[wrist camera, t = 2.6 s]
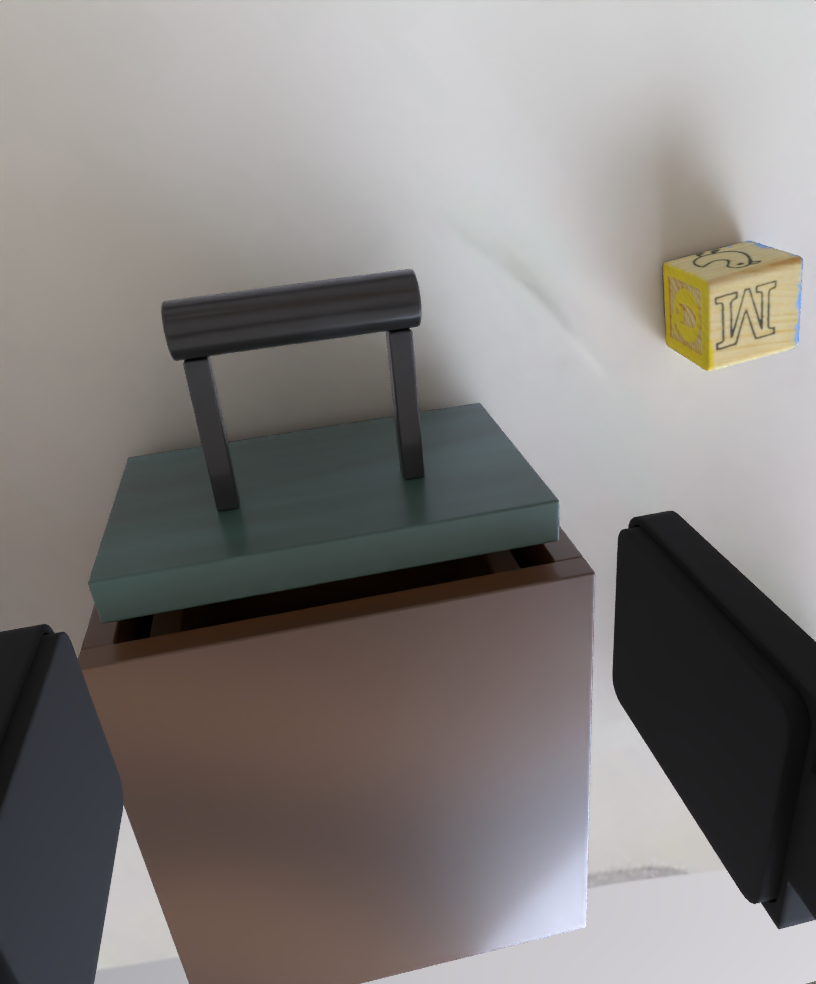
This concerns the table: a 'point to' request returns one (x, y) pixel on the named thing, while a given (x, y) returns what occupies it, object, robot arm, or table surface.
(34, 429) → the table surface
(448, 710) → the cabinet
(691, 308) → the alphabet block
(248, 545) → the drawer
